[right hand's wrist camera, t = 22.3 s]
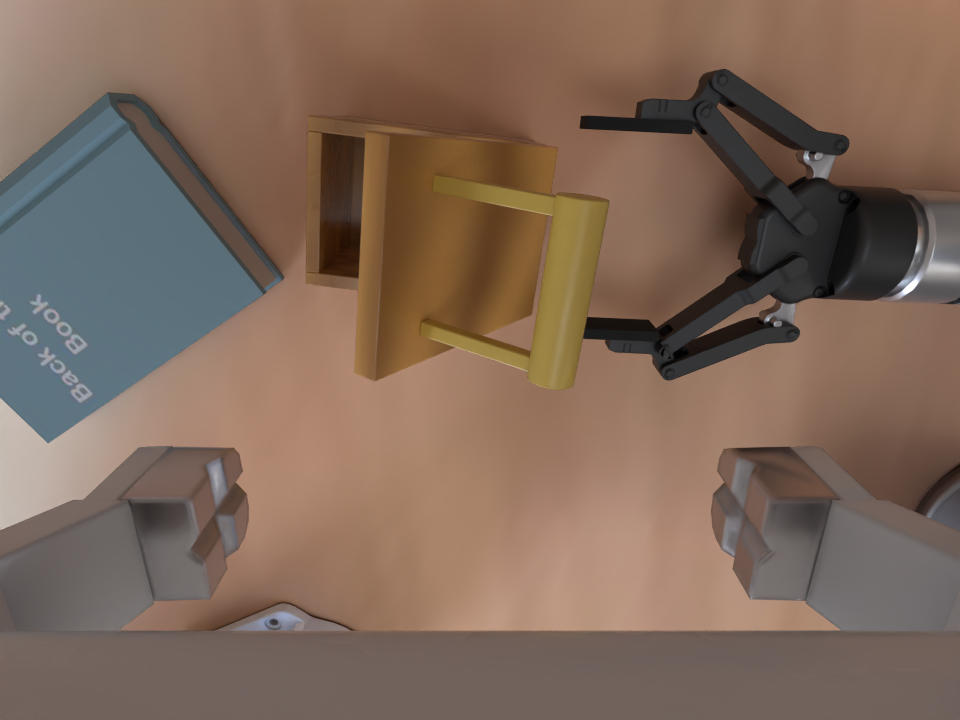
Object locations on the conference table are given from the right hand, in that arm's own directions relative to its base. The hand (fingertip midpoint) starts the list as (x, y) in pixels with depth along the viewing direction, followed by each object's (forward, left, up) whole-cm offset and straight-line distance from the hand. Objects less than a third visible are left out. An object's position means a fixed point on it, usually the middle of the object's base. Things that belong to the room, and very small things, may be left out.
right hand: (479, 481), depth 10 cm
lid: (-1, 0, -22) cm, 22 cm away
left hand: (+6, -3, -32) cm, 33 cm away
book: (-30, +3, -39) cm, 49 cm away
